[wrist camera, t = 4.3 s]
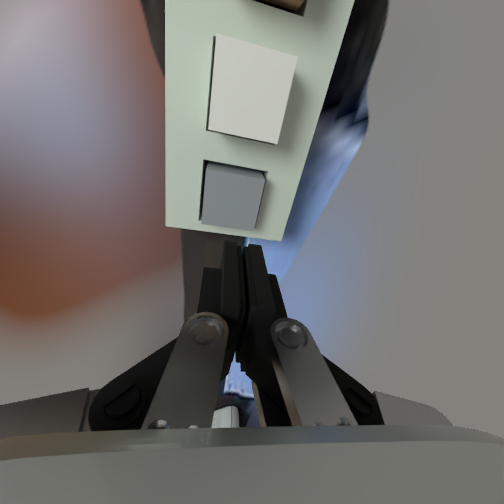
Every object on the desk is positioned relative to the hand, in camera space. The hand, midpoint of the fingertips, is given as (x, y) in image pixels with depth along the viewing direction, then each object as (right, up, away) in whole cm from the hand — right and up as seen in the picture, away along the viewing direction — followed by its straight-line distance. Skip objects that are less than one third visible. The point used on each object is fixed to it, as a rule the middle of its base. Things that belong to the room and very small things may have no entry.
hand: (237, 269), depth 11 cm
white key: (0, +13, +7) cm, 15 cm away
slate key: (-1, +7, +13) cm, 15 cm away
